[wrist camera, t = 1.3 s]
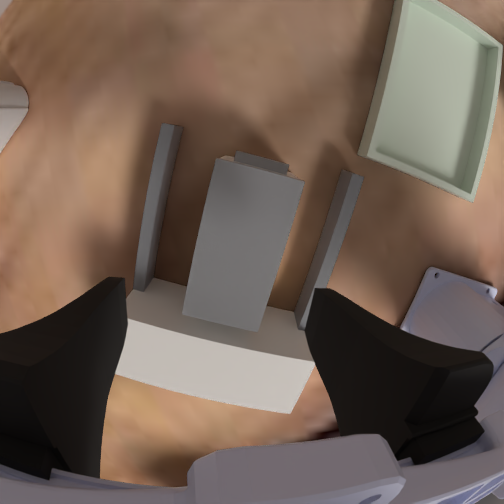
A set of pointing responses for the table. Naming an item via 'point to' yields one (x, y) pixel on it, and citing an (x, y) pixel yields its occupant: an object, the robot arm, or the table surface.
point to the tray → (434, 97)
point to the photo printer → (11, 109)
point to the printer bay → (214, 334)
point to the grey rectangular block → (241, 239)
